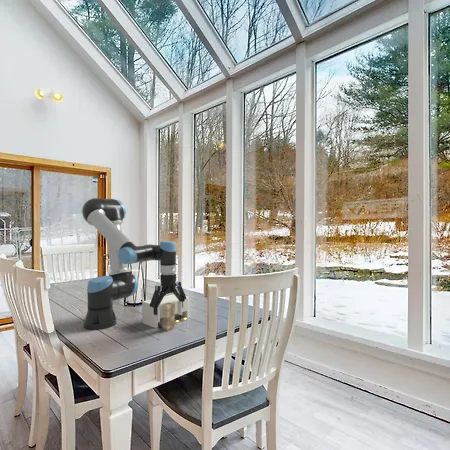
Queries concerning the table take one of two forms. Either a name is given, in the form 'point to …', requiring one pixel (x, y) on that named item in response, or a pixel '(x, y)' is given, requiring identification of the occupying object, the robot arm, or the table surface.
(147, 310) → the cabinet
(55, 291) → the table surface
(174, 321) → the golden knob
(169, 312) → the hook
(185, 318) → the gold domed disc
